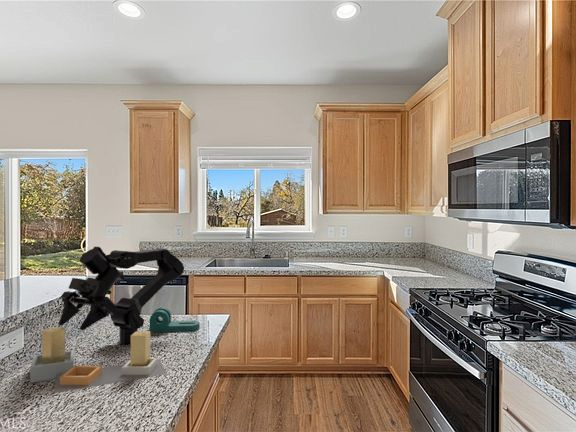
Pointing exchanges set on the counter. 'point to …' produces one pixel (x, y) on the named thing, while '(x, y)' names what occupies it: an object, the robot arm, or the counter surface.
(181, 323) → the bracket
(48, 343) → the block
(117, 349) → the counter surface
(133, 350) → the block
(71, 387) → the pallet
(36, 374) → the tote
